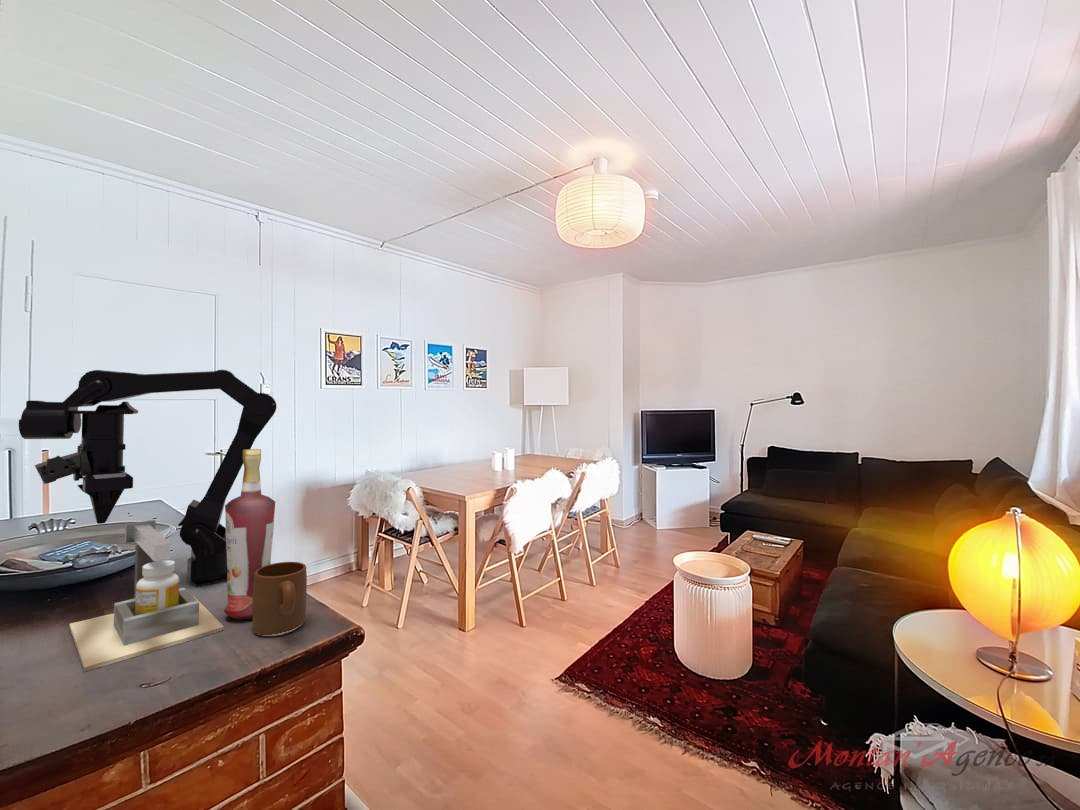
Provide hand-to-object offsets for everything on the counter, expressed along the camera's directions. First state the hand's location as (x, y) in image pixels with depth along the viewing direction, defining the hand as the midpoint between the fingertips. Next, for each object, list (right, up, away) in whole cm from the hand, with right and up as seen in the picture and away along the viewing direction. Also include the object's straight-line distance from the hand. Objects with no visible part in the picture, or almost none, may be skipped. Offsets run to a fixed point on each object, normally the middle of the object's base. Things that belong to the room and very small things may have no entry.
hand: (101, 523), depth 88 cm
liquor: (+31, -14, -7) cm, 35 cm away
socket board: (+19, -14, -13) cm, 27 cm away
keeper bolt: (+16, -2, -9) cm, 19 cm away
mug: (+40, -14, -13) cm, 45 cm away
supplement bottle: (+20, -13, -13) cm, 27 cm away
